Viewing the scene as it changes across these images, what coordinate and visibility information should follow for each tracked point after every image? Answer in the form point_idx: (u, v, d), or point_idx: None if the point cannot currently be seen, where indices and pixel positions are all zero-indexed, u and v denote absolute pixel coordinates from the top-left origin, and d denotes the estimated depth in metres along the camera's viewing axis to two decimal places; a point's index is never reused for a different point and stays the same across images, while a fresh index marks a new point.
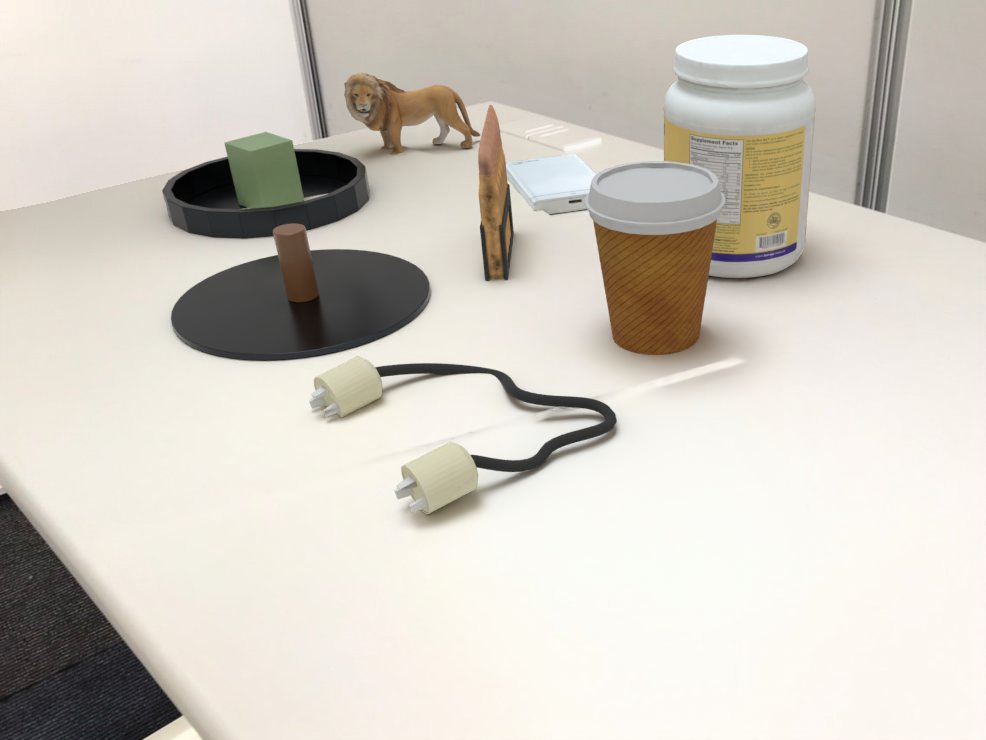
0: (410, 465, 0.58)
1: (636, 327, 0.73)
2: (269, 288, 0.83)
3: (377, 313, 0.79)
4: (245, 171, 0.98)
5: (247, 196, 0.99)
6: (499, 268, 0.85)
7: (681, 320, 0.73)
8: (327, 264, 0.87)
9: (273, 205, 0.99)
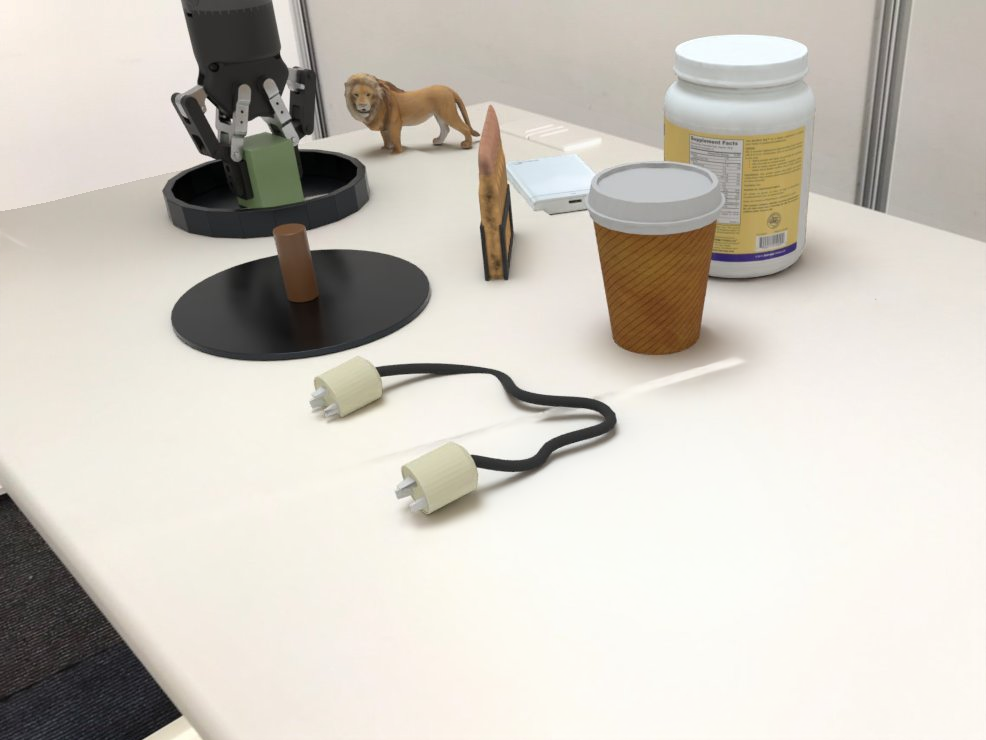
0: (410, 465, 0.58)
1: (636, 327, 0.73)
2: (269, 288, 0.83)
3: (377, 313, 0.79)
4: None
5: None
6: (499, 268, 0.85)
7: (681, 320, 0.73)
8: (327, 264, 0.87)
9: (273, 205, 0.99)
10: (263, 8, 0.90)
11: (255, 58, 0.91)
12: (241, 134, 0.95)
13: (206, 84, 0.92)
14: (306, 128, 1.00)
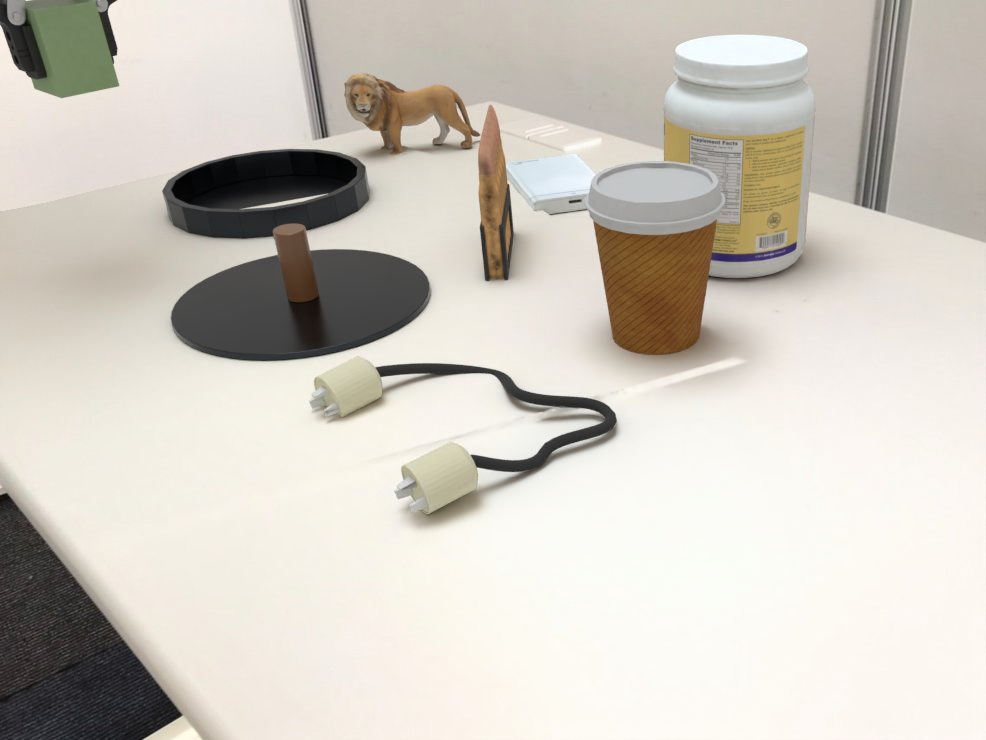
0: (410, 465, 0.58)
1: (636, 327, 0.73)
2: (269, 288, 0.83)
3: (377, 313, 0.79)
4: None
5: None
6: (499, 268, 0.85)
7: (681, 320, 0.73)
8: (327, 264, 0.87)
9: (73, 87, 0.77)
10: None
11: None
12: None
13: None
14: None
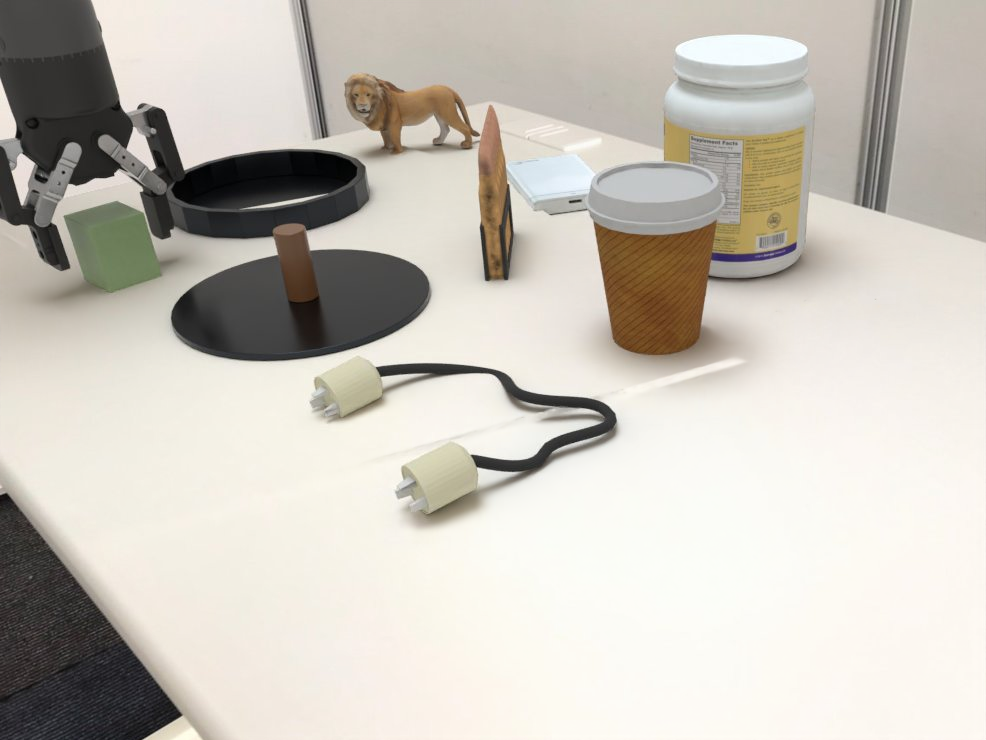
0: (410, 465, 0.58)
1: (636, 327, 0.73)
2: (269, 288, 0.83)
3: (377, 313, 0.79)
4: (87, 249, 0.83)
5: (93, 277, 0.85)
6: (499, 268, 0.85)
7: (681, 320, 0.73)
8: (327, 264, 0.87)
9: (123, 288, 0.85)
10: (89, 53, 0.76)
11: (81, 113, 0.77)
12: (54, 196, 0.79)
13: (24, 143, 0.77)
14: (175, 173, 0.86)
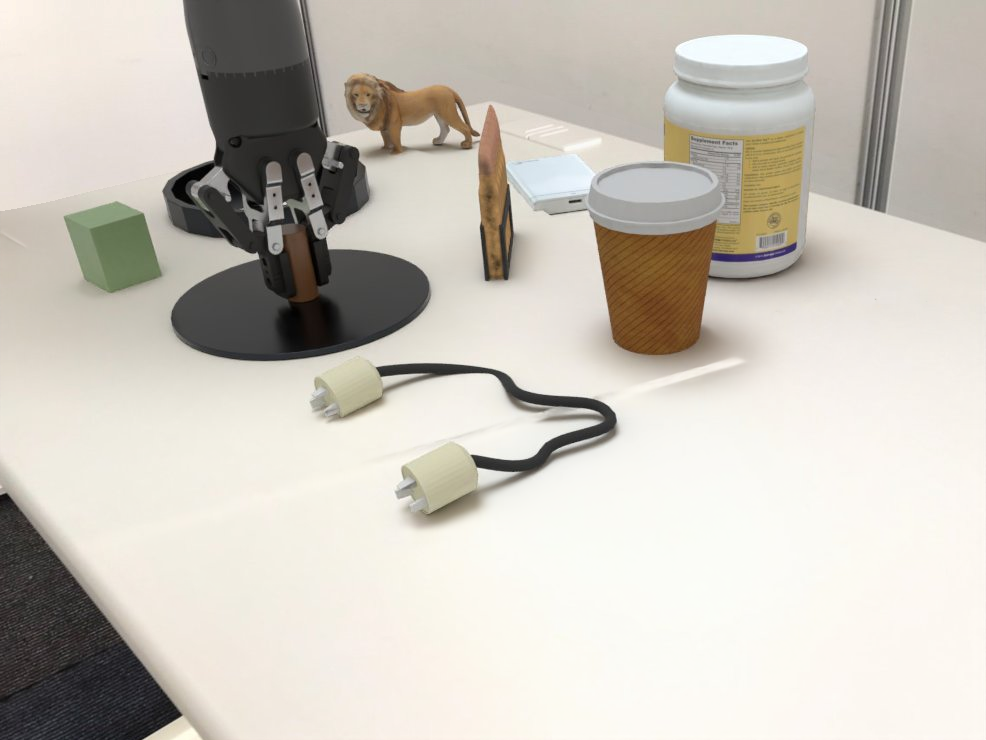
0: (410, 465, 0.58)
1: (636, 327, 0.73)
2: None
3: (377, 314, 0.79)
4: (87, 250, 0.83)
5: (93, 277, 0.85)
6: (499, 268, 0.85)
7: (681, 320, 0.73)
8: None
9: (123, 288, 0.85)
10: (299, 67, 0.71)
11: (288, 130, 0.72)
12: (277, 221, 0.76)
13: (225, 163, 0.72)
14: (337, 216, 0.80)
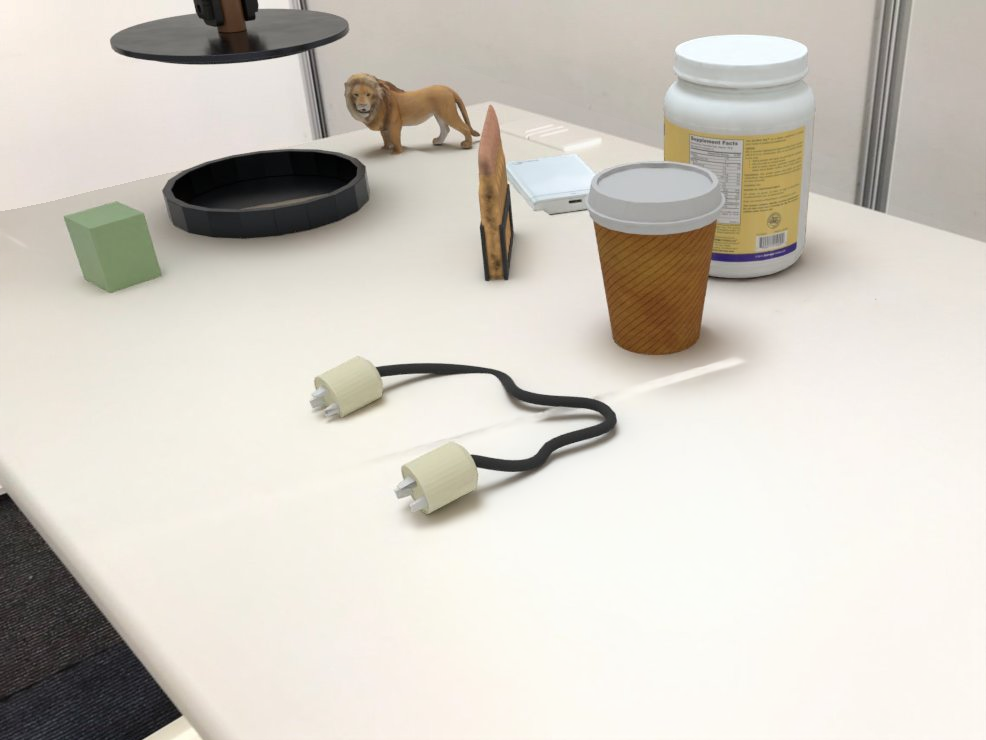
0: (410, 464, 0.58)
1: (636, 327, 0.73)
2: (202, 26, 0.91)
3: (296, 37, 0.87)
4: (87, 250, 0.83)
5: (93, 277, 0.85)
6: (499, 268, 0.85)
7: (681, 320, 0.73)
8: (258, 15, 0.95)
9: (123, 288, 0.85)
10: None
11: None
12: None
13: None
14: None
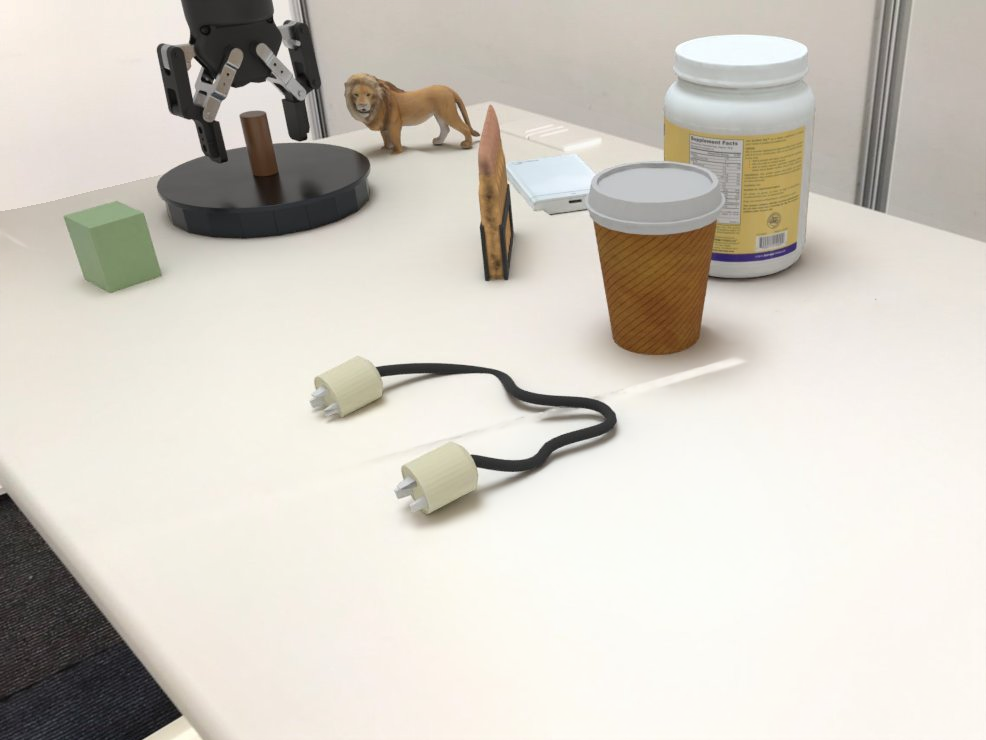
0: (410, 465, 0.58)
1: (636, 327, 0.73)
2: (238, 168, 1.01)
3: (324, 183, 0.97)
4: (87, 249, 0.83)
5: (93, 277, 0.85)
6: (499, 268, 0.85)
7: (681, 320, 0.73)
8: (287, 152, 1.05)
9: (123, 288, 0.85)
10: None
11: (247, 21, 0.90)
12: (220, 95, 0.92)
13: (197, 47, 0.90)
14: (313, 82, 0.99)
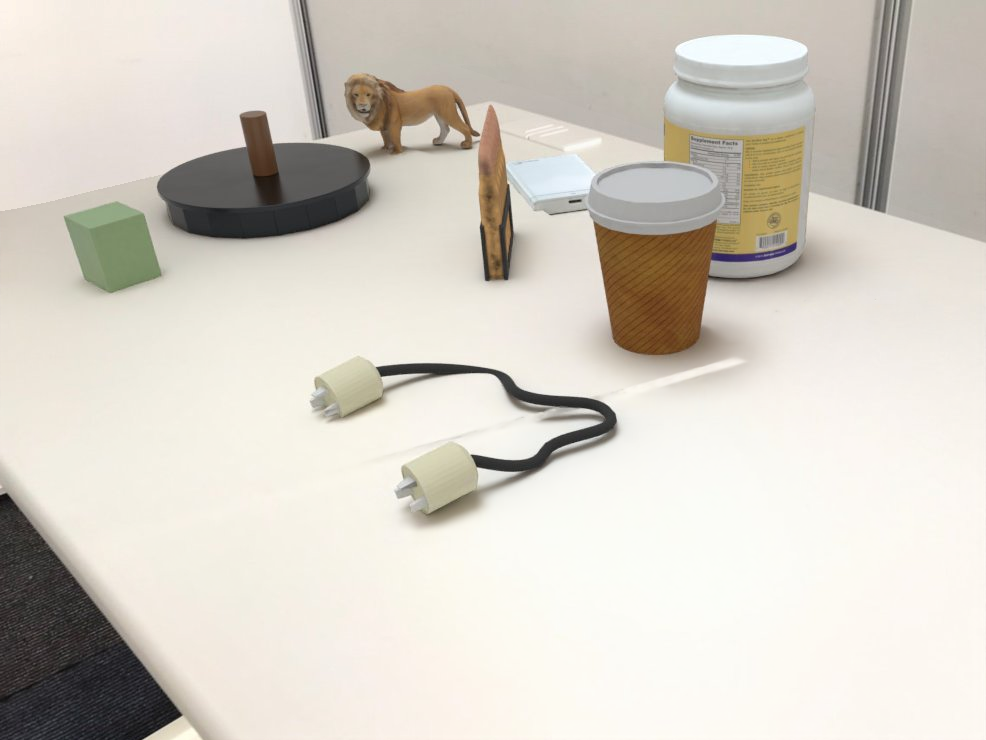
0: (410, 464, 0.58)
1: (636, 327, 0.73)
2: (238, 168, 1.01)
3: (324, 183, 0.97)
4: (87, 250, 0.83)
5: (93, 277, 0.85)
6: (499, 268, 0.85)
7: (681, 320, 0.73)
8: (287, 152, 1.05)
9: (123, 288, 0.85)
10: None
11: None
12: None
13: None
14: None
